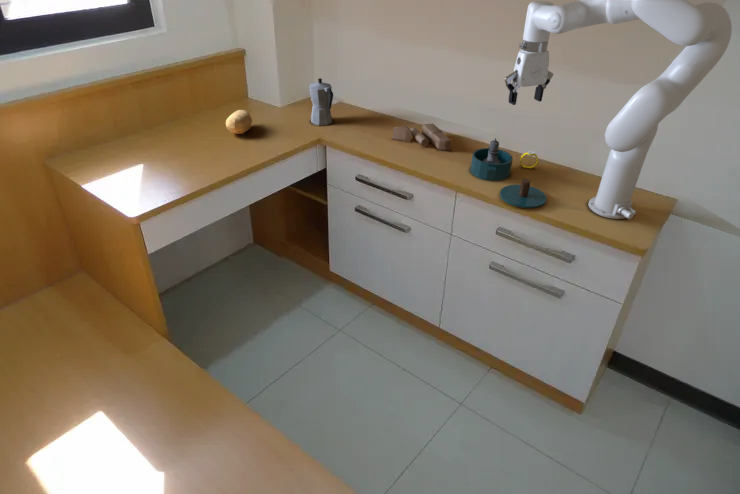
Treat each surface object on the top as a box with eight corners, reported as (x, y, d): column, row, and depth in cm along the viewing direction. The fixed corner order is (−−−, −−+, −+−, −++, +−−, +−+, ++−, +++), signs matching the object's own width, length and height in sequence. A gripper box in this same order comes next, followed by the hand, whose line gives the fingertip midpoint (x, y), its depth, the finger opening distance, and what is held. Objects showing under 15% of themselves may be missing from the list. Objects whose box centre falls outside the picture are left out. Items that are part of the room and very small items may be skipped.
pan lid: (543, 190, 169) (547, 173, 165) (548, 212, 157) (552, 194, 153) (499, 185, 171) (502, 168, 167) (500, 207, 159) (503, 189, 155)
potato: (256, 125, 211) (254, 106, 206) (248, 139, 199) (246, 119, 195) (233, 124, 211) (230, 105, 207) (223, 138, 200) (220, 118, 195)
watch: (518, 168, 182) (522, 152, 178) (518, 165, 184) (521, 149, 180) (536, 170, 181) (539, 154, 177) (535, 166, 183) (539, 151, 179)
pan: (508, 162, 186) (511, 146, 182) (510, 186, 170) (513, 169, 167) (471, 158, 188) (473, 143, 184) (469, 182, 172) (472, 165, 169)
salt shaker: (498, 175, 176) (504, 142, 169) (481, 173, 177) (486, 140, 170) (498, 167, 181) (504, 135, 174) (481, 166, 182) (486, 134, 175)
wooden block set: (432, 119, 204) (452, 137, 190) (431, 133, 207) (450, 151, 193) (392, 124, 199) (410, 142, 185) (391, 137, 202) (409, 156, 188)
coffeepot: (303, 119, 217) (301, 76, 207) (322, 114, 222) (321, 72, 212) (323, 130, 207) (321, 86, 197) (342, 125, 212) (342, 82, 202)
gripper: (517, 51, 150) (508, 108, 160) (566, 46, 155) (554, 102, 165) (503, 45, 156) (495, 101, 165) (550, 41, 161) (540, 95, 171)
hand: (524, 102), depth 165 cm, fingers open, 9 cm apart
